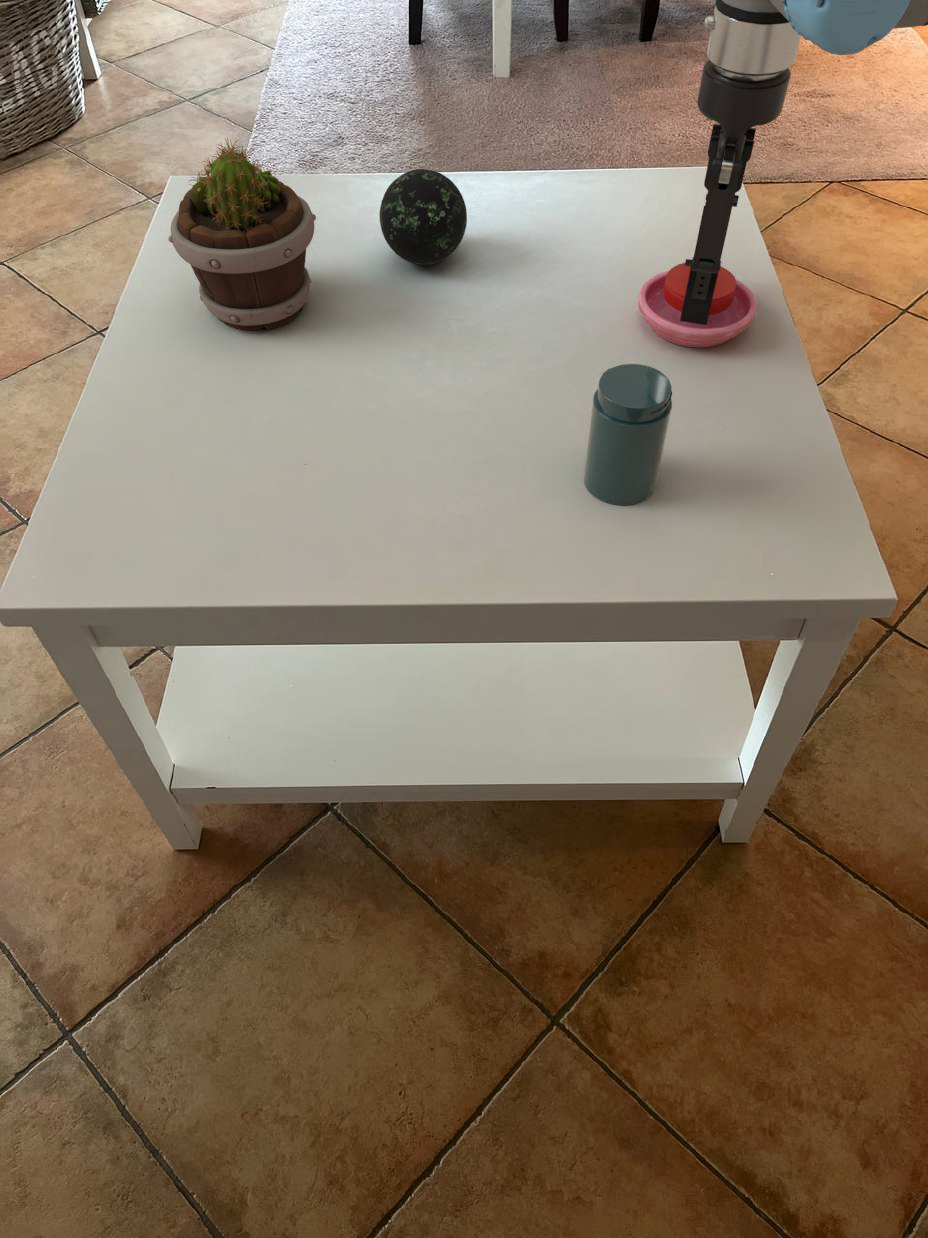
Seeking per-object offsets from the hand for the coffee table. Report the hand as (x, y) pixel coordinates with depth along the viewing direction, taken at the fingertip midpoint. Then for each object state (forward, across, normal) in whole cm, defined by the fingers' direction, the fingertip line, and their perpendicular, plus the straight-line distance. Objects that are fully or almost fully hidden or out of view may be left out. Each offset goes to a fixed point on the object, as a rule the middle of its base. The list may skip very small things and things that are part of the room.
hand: (699, 292), depth 97 cm
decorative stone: (+4, -5, -32) cm, 33 cm away
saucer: (+4, 0, 0) cm, 4 cm away
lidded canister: (+3, +27, -4) cm, 28 cm away
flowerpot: (+4, +9, -47) cm, 48 cm away
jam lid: (-1, 0, 0) cm, 1 cm away
